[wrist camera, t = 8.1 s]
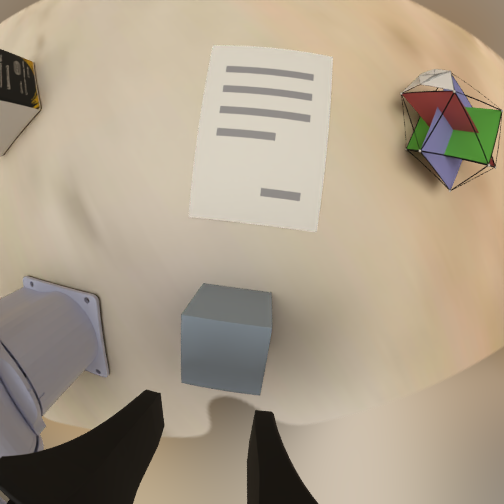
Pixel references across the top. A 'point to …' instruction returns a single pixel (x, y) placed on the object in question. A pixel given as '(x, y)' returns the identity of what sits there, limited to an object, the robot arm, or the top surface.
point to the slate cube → (226, 338)
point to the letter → (262, 137)
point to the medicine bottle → (16, 97)
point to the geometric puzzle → (450, 126)
